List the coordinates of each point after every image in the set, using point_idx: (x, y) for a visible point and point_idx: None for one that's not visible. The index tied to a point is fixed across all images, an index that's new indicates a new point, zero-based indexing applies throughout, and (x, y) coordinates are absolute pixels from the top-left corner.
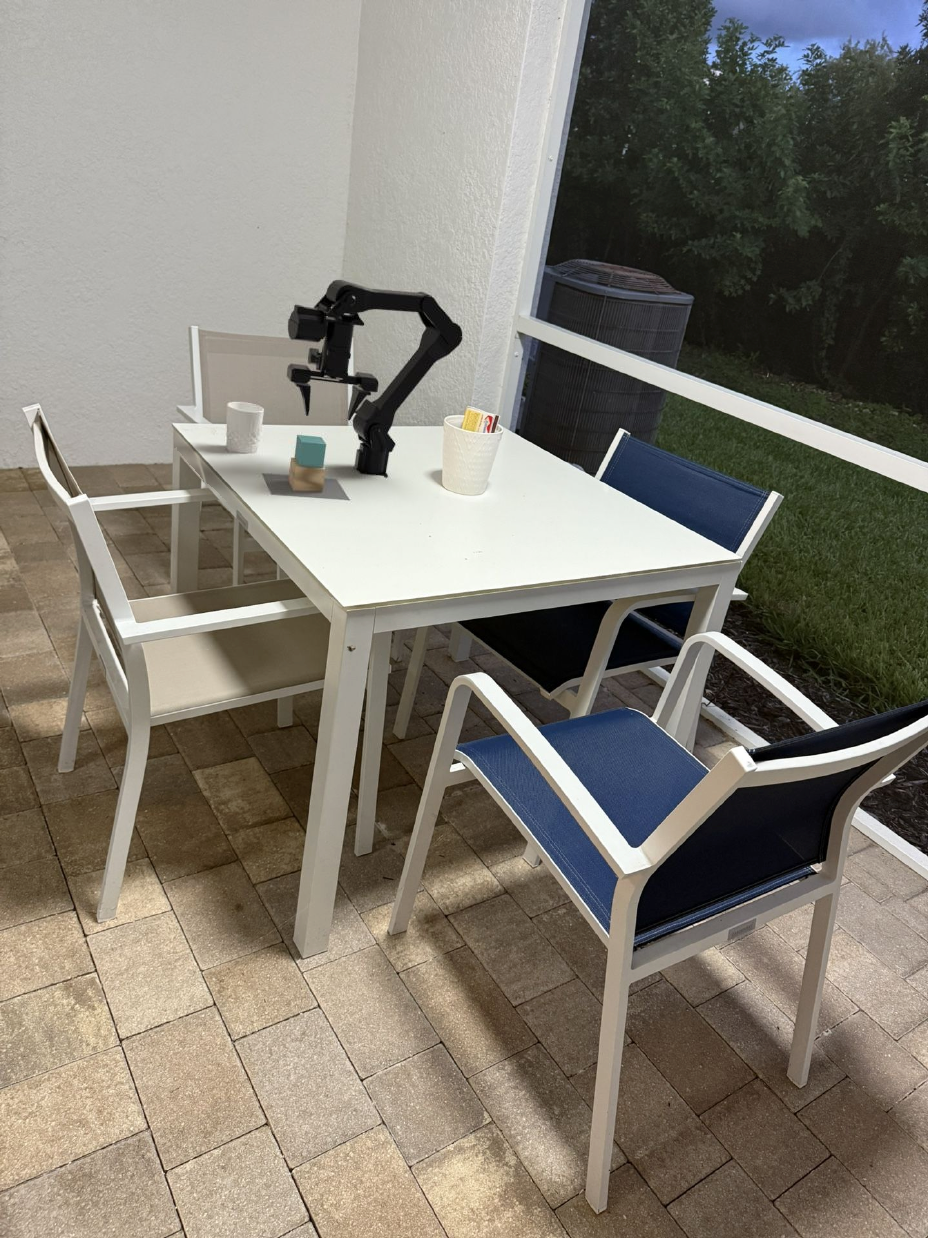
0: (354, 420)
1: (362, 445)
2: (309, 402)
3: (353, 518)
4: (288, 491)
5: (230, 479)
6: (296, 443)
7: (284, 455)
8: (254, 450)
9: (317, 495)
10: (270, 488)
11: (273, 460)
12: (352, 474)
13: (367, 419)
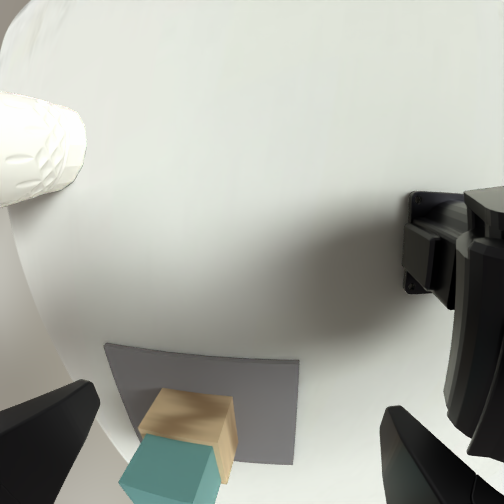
0: (477, 281)
1: (450, 287)
2: (62, 483)
3: (278, 498)
4: None
5: (67, 367)
6: (130, 466)
7: (160, 134)
8: (71, 173)
9: None
10: (134, 423)
11: (123, 207)
12: (378, 282)
13: (478, 454)
